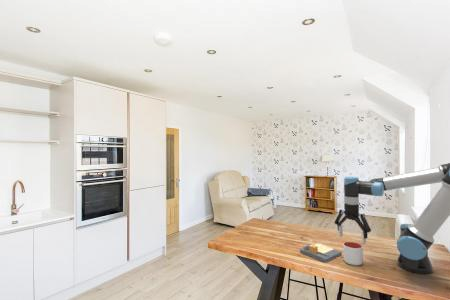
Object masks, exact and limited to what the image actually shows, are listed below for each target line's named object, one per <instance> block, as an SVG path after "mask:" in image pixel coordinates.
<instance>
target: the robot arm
mask: <svg viewBox="0 0 450 300" xmlns="http://www.w3.org/2000/svg"><path fill="white" fill-rule="evenodd" d="M439 183H441V184H442V185H441V187H440V188H439V190H438V191H437V192H436V193H435V195H434V196H433V197H432V199H431V200H430V202H429V203H428V204H427V206H425V208H424V210H423V211H422V213H421V214H420V215H419V216H418V218H417V219H416V221H415V222H414V223H402V224H400V227H399V231H400V234H399V237H398V238H397V241H396V248H397V250H398V252H399V255H398V258H397V266H399V267H400V268H401V269H403V270H405V271H408V272H410V273H414V274H419V275H420V274H422V275H429V274H432V273H433V270H434V269H433V268H434V267H433V265H432V262H431V260H430V257H429V255H428V253H429V252H428V251H429V249H430V248H431V247H432V246H433V244H434V243H435V239H434V236H435V234H436V233H437V232H438V231H439V230H440V228H441V227H442V225H443V224H444V223H445V222H446V221H447V219H448V218H449V217H450V162H449V163H443V164H440V165H439V166H438V167H434V168H433V167H432V168H429V169H422V170H417V171H411V172H407V173H401V174H396V175H390V176H384V177H379V178H372V179H370V180H369V181H367V180H360V179H359V177H357V176H345V177H344V180H343V193H344V194H343V198H344V199H343V202H344V206H343V207H344V209H343V208H342V209H339V211H338V215H337V216H336V219H335V220H334V221H333V222H334V225H337V231H338V238H342V237H343V234H344V233H343V230H344V229H343V225H342V224H344V222H345V221H347V220H351V221H354V222H355V223H356V224H357V225H358V227H359V228H360V229H361V231H362V232H361V245H365V244H367V238H368V234H369V233H370V232H372V229H371V227H370V225H369V223H368V221H367V219H366V214H365V213H360V205H359V203H360V199H359V198H360V197H359V195H365V196H374V197H382V196H384V194H385V191H391V190H398V189H399V190H400V189H404V188H411V187H417V186H418V187H419V186H425V185H433V184H439ZM343 215H344V216H343Z"/></svg>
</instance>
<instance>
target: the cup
mask: <svg viewBox="0 0 450 300" xmlns="http://www.w3.org/2000/svg"><path fill="white" fill-rule="evenodd" d="M342 247H343V251H342V252H343V253H342V254H343V256H342V257H343V261H344V262H345V263H346V264H348V265H351V266H361V265H363V263H364V248H363V244H362V243H358V242H353V241H346V242H343V244H342Z"/></svg>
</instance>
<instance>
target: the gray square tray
mask: <svg viewBox="0 0 450 300" xmlns="http://www.w3.org/2000/svg"><path fill="white" fill-rule="evenodd" d="M310 245H311V244H306V245H303V246H302V247H303V248H301V249H299V253H300V254H302V255H304V256H307V257H308V258H309V257H310V258H312V259H314V260H318V261H319V262H321V263H324V264H327V263H329V262H330V261H333V260H335V259H337V258H339V257H341V256H342V254H343V253H342V252H343V251H340V250H337V249H334V248H332V247H329V246H327V245H324V244H321V243H314V244H312V245H314V246H317V247H318V253H317V254H314V253H312V252H309V246H310Z"/></svg>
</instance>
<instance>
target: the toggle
mask: <svg viewBox="0 0 450 300" xmlns="http://www.w3.org/2000/svg"><path fill="white" fill-rule="evenodd" d="M309 245H310V246H309V252H312V253H314V254H317V253H318V247H317V246H314V245H313V244H309Z"/></svg>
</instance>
